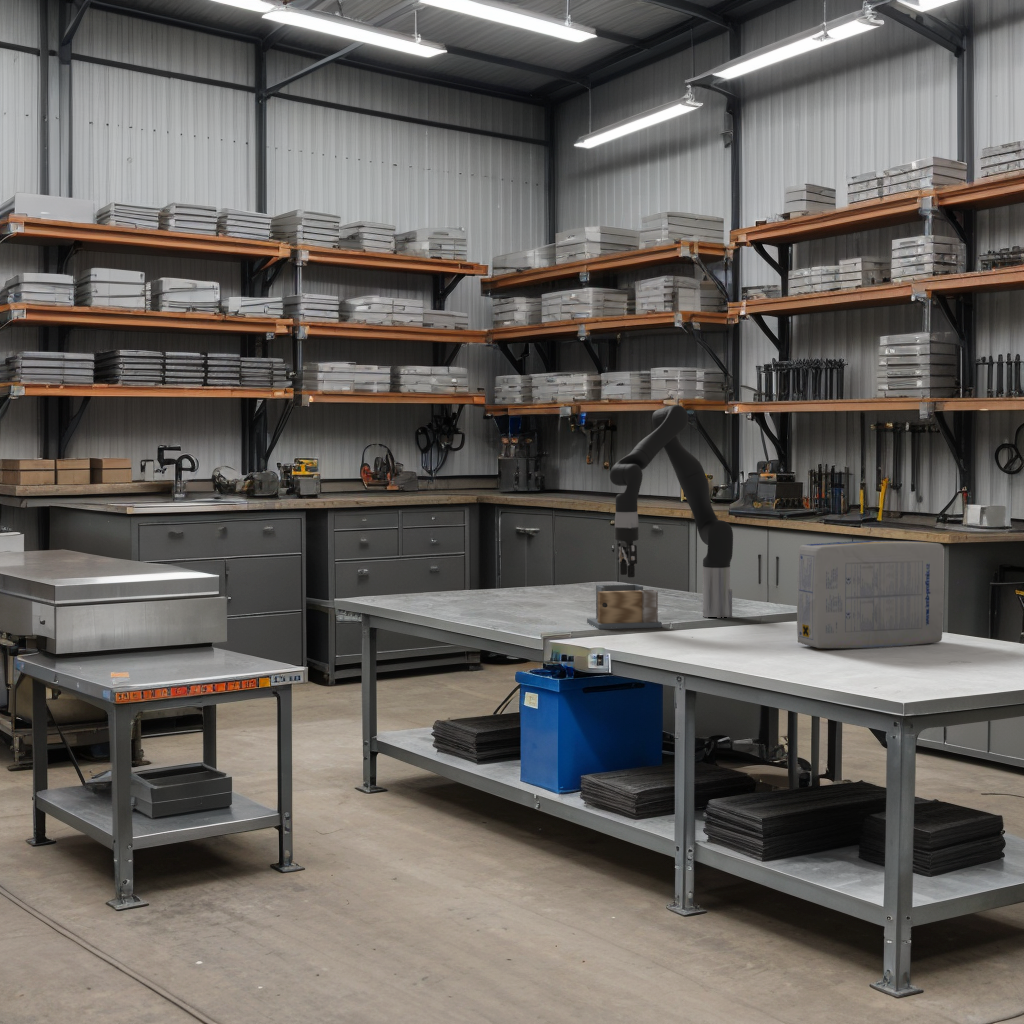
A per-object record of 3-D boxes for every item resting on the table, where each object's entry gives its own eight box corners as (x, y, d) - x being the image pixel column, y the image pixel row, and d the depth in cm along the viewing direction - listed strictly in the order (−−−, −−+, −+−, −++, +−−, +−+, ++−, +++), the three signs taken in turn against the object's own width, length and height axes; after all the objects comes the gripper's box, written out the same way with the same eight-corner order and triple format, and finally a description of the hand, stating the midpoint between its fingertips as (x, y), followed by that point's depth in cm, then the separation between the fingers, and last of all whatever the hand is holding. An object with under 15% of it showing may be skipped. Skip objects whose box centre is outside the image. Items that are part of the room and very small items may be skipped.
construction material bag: (920, 638, 364) (921, 538, 363) (945, 644, 353) (946, 541, 352) (794, 646, 350) (795, 542, 349) (816, 652, 340) (817, 545, 338)
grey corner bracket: (648, 621, 407) (648, 583, 406) (661, 627, 392) (661, 588, 391) (587, 623, 403) (587, 585, 402) (598, 629, 388) (598, 590, 387)
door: (653, 620, 398) (653, 589, 397) (657, 622, 392) (657, 591, 392) (596, 621, 394) (596, 591, 394) (600, 624, 389) (600, 592, 389)
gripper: (609, 525, 398) (610, 574, 399) (621, 527, 384) (622, 578, 385) (631, 524, 399) (632, 573, 400) (644, 526, 385) (645, 577, 386)
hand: (627, 576), depth 392 cm, fingers open, 8 cm apart
